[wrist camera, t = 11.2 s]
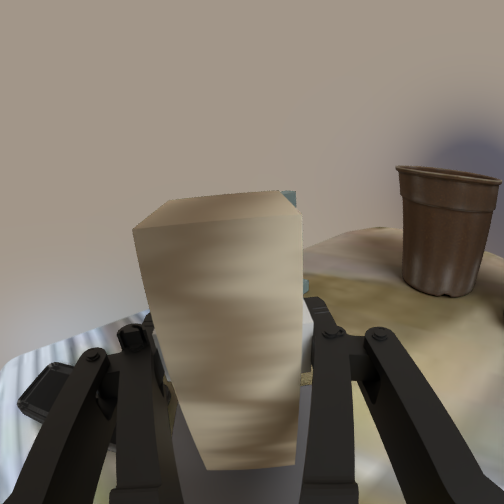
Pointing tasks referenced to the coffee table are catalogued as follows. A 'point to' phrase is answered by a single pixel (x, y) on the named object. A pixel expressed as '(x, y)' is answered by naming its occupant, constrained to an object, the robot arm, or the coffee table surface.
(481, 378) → the coffee table surface
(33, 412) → the phone
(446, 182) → the plant pot
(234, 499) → the charcoal mat
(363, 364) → the robot arm
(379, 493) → the coffee table surface
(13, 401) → the coffee table surface
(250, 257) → the tall tan block
